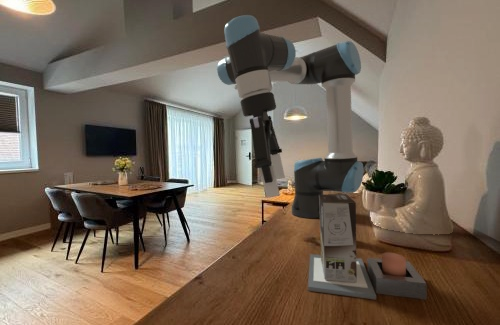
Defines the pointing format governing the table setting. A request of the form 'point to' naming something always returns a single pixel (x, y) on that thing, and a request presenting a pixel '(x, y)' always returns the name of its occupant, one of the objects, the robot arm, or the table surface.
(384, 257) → the button
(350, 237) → the coffee box
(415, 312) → the table surface
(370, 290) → the drawing board
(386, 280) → the button housing
